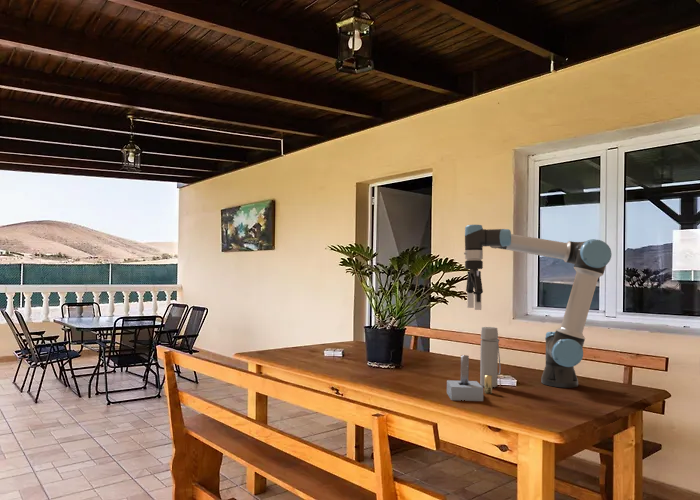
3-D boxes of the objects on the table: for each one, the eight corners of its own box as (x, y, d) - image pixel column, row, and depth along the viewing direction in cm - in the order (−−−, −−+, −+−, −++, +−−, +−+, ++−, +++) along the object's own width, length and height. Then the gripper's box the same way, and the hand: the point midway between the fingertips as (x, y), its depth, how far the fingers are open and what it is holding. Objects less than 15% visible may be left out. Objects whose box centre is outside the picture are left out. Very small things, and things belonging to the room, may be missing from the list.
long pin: (467, 396, 204) (467, 355, 205) (468, 397, 202) (469, 356, 202) (459, 395, 205) (460, 355, 205) (461, 397, 202) (461, 356, 202)
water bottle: (485, 388, 218) (486, 328, 219) (476, 384, 226) (477, 326, 227) (505, 387, 221) (505, 328, 222) (495, 383, 228) (495, 326, 229)
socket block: (476, 393, 209) (476, 381, 209) (483, 401, 197) (483, 387, 197) (446, 392, 209) (446, 380, 210) (451, 400, 197) (451, 386, 198)
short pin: (491, 392, 212) (491, 374, 212) (492, 393, 209) (492, 376, 209) (483, 392, 212) (483, 374, 212) (485, 393, 209) (485, 376, 209)
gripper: (459, 260, 240) (459, 306, 239) (471, 259, 215) (472, 310, 214) (475, 260, 240) (475, 306, 239) (490, 259, 215) (490, 310, 214)
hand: (474, 308), depth 226 cm, fingers open, 13 cm apart
